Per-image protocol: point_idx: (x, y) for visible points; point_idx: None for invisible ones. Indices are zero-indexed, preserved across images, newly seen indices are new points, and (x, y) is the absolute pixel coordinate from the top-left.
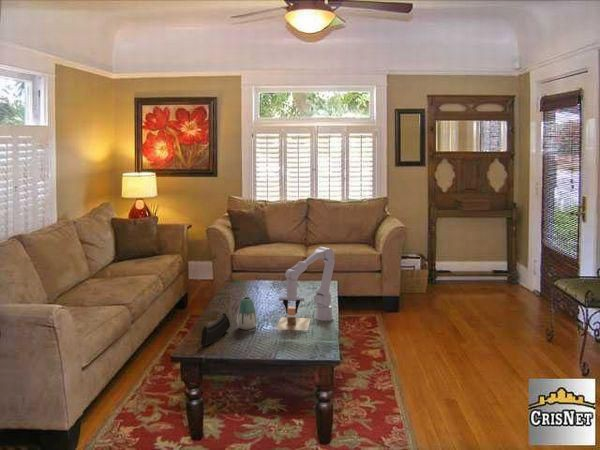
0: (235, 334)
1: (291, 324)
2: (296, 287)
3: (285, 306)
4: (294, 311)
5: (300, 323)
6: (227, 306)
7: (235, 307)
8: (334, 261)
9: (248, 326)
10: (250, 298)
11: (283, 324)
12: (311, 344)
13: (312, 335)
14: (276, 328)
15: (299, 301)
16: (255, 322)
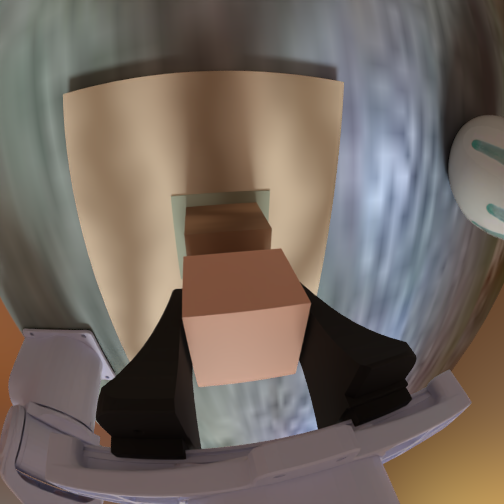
0: (491, 69)
1: (220, 206)
2: None
3: (346, 324)
4: (194, 286)
5: (156, 265)
6: (437, 371)
7: (424, 374)
8: None
9: (483, 115)
10: None
11: (289, 217)
12: None
13: (34, 38)
14: (338, 105)
15: (121, 438)
16: (475, 140)
